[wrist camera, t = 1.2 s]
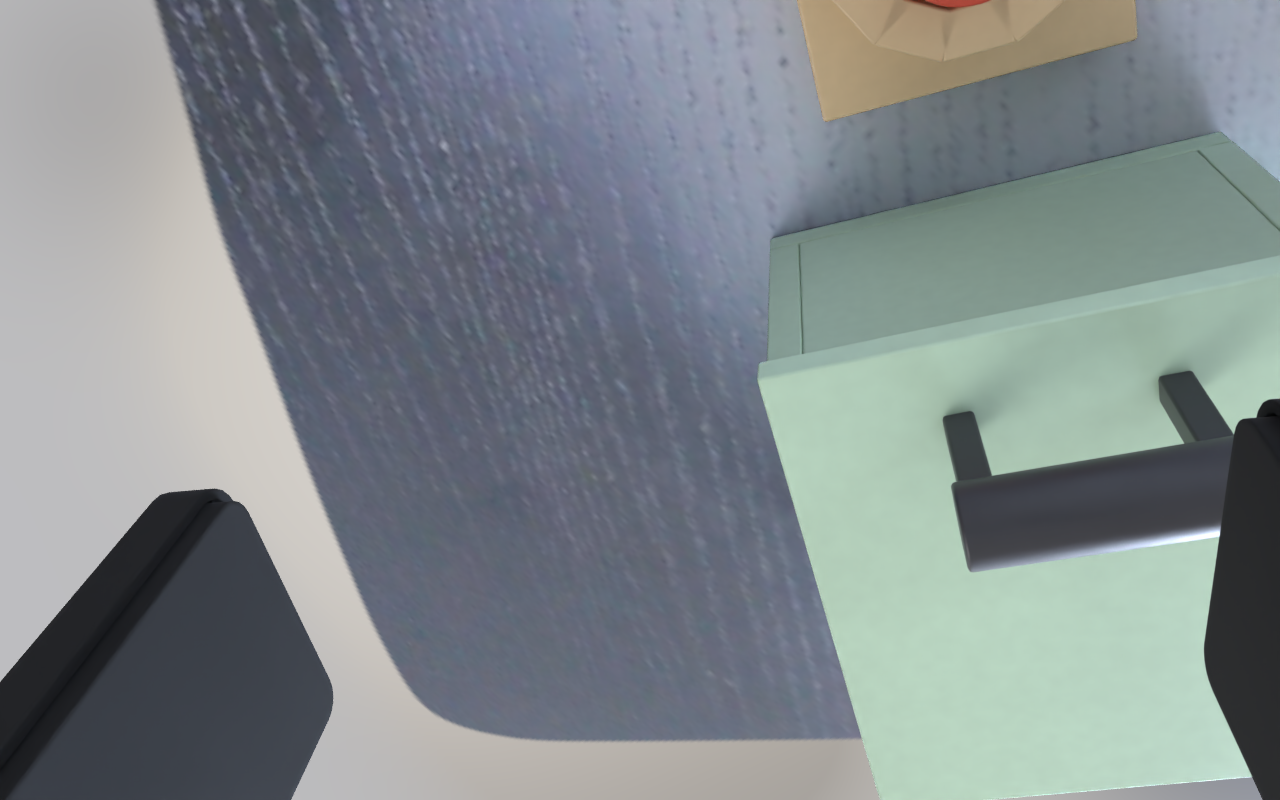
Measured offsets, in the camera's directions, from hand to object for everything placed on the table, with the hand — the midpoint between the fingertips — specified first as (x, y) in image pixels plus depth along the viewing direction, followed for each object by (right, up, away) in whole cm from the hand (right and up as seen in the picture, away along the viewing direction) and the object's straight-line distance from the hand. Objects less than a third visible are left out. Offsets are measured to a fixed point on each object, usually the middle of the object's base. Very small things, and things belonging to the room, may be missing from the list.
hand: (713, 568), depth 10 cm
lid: (+10, -3, +16) cm, 19 cm away
